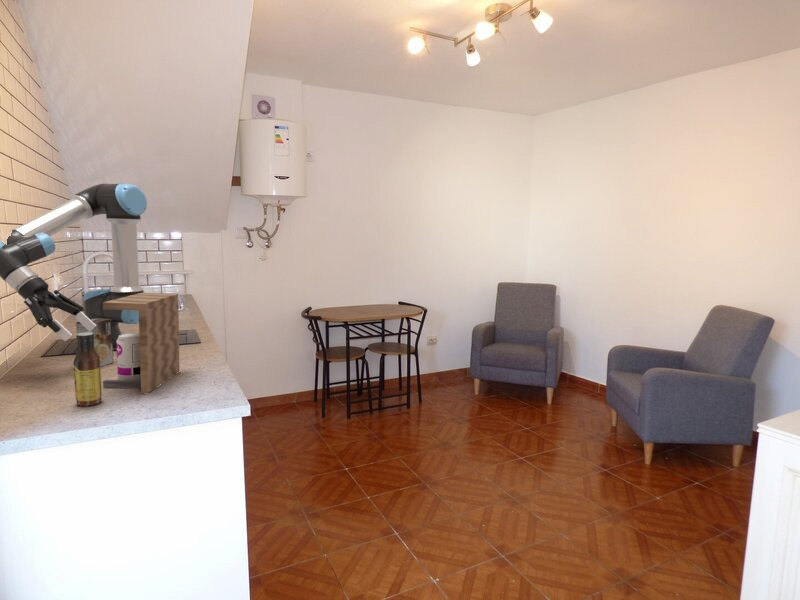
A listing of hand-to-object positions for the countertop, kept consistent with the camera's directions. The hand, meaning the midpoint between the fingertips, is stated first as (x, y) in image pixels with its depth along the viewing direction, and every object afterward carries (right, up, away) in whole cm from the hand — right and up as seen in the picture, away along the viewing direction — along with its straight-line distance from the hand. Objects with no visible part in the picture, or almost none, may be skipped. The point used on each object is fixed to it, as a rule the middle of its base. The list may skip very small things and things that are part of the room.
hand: (81, 333), depth 158 cm
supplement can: (+15, -16, +1) cm, 22 cm away
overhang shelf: (+18, -15, +1) cm, 24 cm away
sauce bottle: (+15, -18, -20) cm, 31 cm away
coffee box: (-6, -13, +18) cm, 23 cm away
